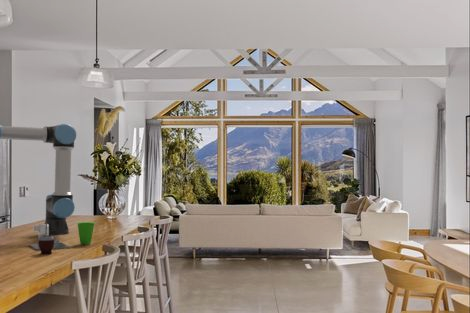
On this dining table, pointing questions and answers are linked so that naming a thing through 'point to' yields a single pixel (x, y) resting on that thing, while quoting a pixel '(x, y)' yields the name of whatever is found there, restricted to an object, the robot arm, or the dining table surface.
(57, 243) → the duct flange
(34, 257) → the dining table surface
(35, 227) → the elbow
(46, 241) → the mate gourd
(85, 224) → the cup
